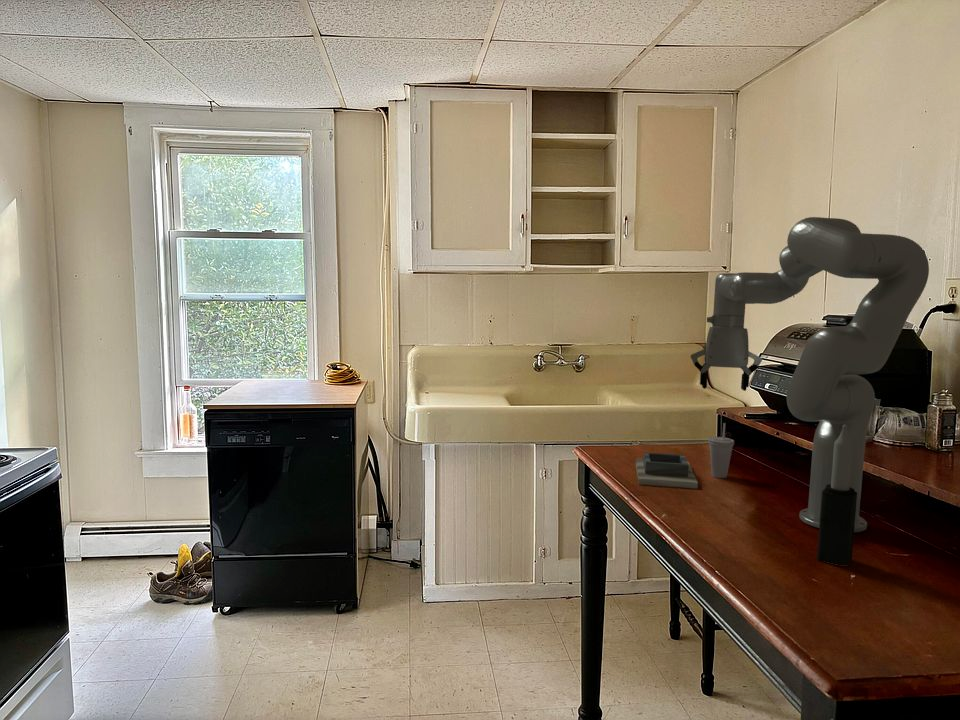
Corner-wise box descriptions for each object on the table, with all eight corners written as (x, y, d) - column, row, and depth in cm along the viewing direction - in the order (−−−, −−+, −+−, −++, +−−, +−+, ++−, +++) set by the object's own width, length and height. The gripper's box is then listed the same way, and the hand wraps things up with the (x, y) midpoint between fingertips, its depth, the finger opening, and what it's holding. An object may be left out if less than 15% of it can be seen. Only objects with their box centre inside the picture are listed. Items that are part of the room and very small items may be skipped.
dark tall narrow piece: (822, 551, 126) (832, 420, 123) (852, 559, 122) (864, 424, 119) (815, 560, 122) (826, 424, 119) (846, 568, 118) (858, 428, 116)
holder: (697, 488, 164) (698, 470, 163) (638, 484, 166) (639, 466, 166) (688, 467, 183) (688, 450, 183) (635, 463, 186) (636, 447, 185)
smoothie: (735, 479, 172) (739, 426, 170) (710, 479, 172) (713, 425, 170) (727, 472, 178) (730, 420, 176) (702, 472, 178) (705, 420, 177)
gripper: (694, 322, 168) (690, 389, 171) (767, 324, 165) (762, 393, 167) (691, 320, 176) (687, 384, 178) (761, 322, 173) (756, 388, 175)
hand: (723, 388), depth 173 cm, fingers open, 9 cm apart
